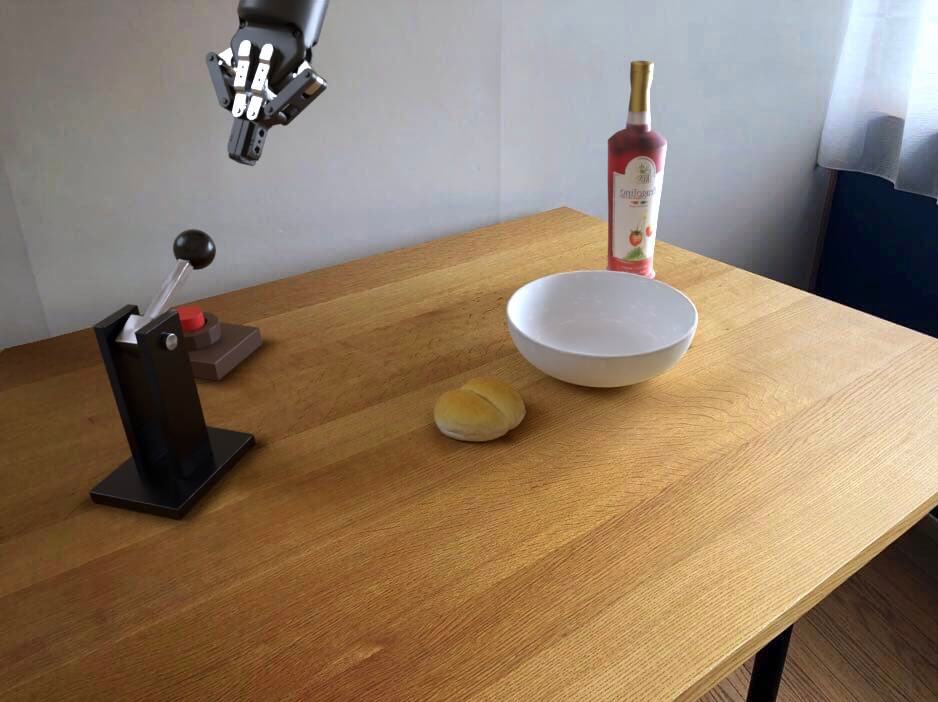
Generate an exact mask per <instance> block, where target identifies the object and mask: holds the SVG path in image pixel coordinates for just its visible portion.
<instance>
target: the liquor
mask: <svg viewBox="0 0 938 702" xmlns="http://www.w3.org/2000/svg"><path fill="white" fill-rule="evenodd" d="M629 70H630V71H629V82H630V94H629V101H628V102H629V103H628V108H627V109H628V110H627V117H626V122H625V123H626V124H625V128H623V129H621V130H617V131H616V132H615V133H613V135H611V136H610V137H609V138H608V139H607V265H606V267H605V268H604V270H603V271H617V272H625V273H631V274H636V275H641V276H645V277H648V278H652V279H655V276H656V272H655V270H654V268H653V265H654V264H653V263H654V252H655V245H656V243H655V242H656V233H657V225H658V216H659V209H660V203H661V196H662V189H663V181H664V171H665V163H666V155H667V147H668V140H667V139H666V138H665V137H664V136H662V135H661V133H660V132H657V131H655V130H653V129H651V98H650V93H651V91H650V90H651V86H652V81H653V75H654V62H653V61H649V60H634V61H633V60H632V61H631V62H630V69H629Z"/></svg>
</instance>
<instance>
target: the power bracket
mask: <svg viewBox="0 0 938 702" xmlns="http://www.w3.org/2000/svg"><path fill="white" fill-rule="evenodd" d="M131 315H138V316H141V312H140V310H139V306H138V305H137V304H130V303H127V304H126V305H124V306H123V307H121V308H119V309H118V310H116V311H115V312H113V313H111V314H109V315H108V316H106V317H104V318H103V319H101V320H100V321H99V322H97V323H95V324H93V325H92V329H93V332H94V335H95V339H96V343H97V345H98V349H99V352H100V355H101V358H102V361H103V364H104V365H103V366H104V368H105V371H106V375H107V378H108V381H109V385H110V388H111V391H112V395H113V398H114V401H115V405H116V408H117V410H118V414H119V417H120V421H121V424H122V428H123V430H124V433H125V436H126V441H127V443H128V447H129V450H130V453H131V456H129V457H128V458H127V459H126V460H125V461H124V462H123V463H121V464H120V465H119V466H117V468H115V469H114V470H113V471H111V472H110V473H109V474H108V475H106V477H104V478H103V479H102V480H101V481H100V482H98V483H97V484H96V485H95V486H94V487H93V488H91V489H90V490H89V491H88V494H89V496H90V499H91V502H92V503H93V504H94V503H95V504H99V505H103V506H109V507H114V508H117V509H118V508H119V509H124V510H128V511H134V512H138V513H144V514H147V515H148V514H149V515H153V516H158V517H162V518H167V519H172V520H178V521H181V520H183V518H184V517H185V516H186V515H188V513H189V512H190V511H191V510H193V508H194V507H195V506H196V505H197V504H198V503H199V502H200V501H201V500H203V498H204V497H205V496H206V495H207V494H208V493H209V492H210V491H211V490H212V489H213V488H214V487H215V486H216V485H217V484H218V483H219V482H221V480H222V479H223V478H224V477H225V476H226V475H227V474H228V473H229V472H230V471H231V470H232V469H233V468H234V467H235V466H236V465H237V464H238V463H239V462H240V461H241V460H242V459H243V458H244V457H245V456H246V455H247V454H248V453H249V452H250V451H251V450H252V448H254V447H255V446H256V445H257V444H256V443H257V441H256V437H255V434H254V433H249V432H243V431H238V430H232V429H226V428H220V427H214V426H209V425H207V423H206V420H205V416H204V410H203V406H202V403H201V399H200V395H199V390H198V387H197V383H196V382H197V381H196V377H194V374H193V370H192V366H191V361H190V357H189V353H188V349H187V345H186V341H185V337H184V333H183V329H182V325H181V321H180V316H179V312H178V311H175V310H174V309H169V310H167V311H165V312H164V313H162V314H161V315H159V316H158V317H157V318H155V319H154V320H152V321H151V322H149V323H148V324H146V325H145V326H143V327H142V328H140V329H139V330H137V331H136V332H134V333H135V337H136V340H137V344H138V347H139V351H140V354H141V358H142V359H139V358H132V357H129V356H128V355H127V354H126V352H125V351H124V350H123V349H122V348H121V347H120V346H119V344H118V343H117V342H116V341H115V340H116V338H117V336H118V335H119V333H120V332H121V330H122V328H123V327H124V325H125V324H126V322H127V320H128V319H129V317H130V316H131Z"/></svg>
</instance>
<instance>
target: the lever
mask: <svg viewBox="0 0 938 702" xmlns="http://www.w3.org/2000/svg"><path fill="white" fill-rule="evenodd" d="M172 253H173V256H174V258H175V260H176V262H175V264H174V265H173V267H172V269H171V270H170V272H169V274H168V275H167V277H166V278H165V281H164V282H163V283H162V285H161V287H160V288H159V290H158V292H157V294H156V295H155V297H154V298H153V300H152V301H151V303H150V304H149V306H148V308H147V310H146V311H145V313H144V314H143V315H140V316H138V315H131V316H130V317H129V319H128V320H127V322H126V324H125V325H124V327H123V328H122V330H121V332H120V333H119V335H118V336H117V338H116V340H115V341H116V342H117V343H118V344H119V346H120V347H121V348H122V349H123V350H124V351H125V352H126V354H127V355H128V356H129V357H132V358H139V359H142V358H141V354H140V351H139V347H138V344H137V340H136V337H135V333H134V332H136V331H137V330H139V329H140V328H142V327H143V326H145V325H146V324H148V323H149V322H151V321H152V320H154V319H155V318H157V317H158V316H159V315H161V314H162V313H164V312H165V311H167V310H170V308H171V306H173V303H174V302H175V300H176V299H177V297H178V295H179V294H180V291H181V290H182V289H183V287H184V285H185V283H186V282H187V280H188V278H189V277H190V275H191V273H192V272H193V271H198V270H203V269H206V268H207V267H209V266H210V265H211V264H212V263H213V261H215V258H216V255H217V248H216V244H215V241H214V240H213V238H212V237H211V236H210V235H209V234H208V233H207V232H206V231H203V230H200V229H195V228H190V229H186V230H183V231H182V232H179V234H178V235H177V236H176V237H175V238H174V240H173V243H172Z"/></svg>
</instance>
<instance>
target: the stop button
mask: <svg viewBox="0 0 938 702" xmlns="http://www.w3.org/2000/svg"><path fill="white" fill-rule="evenodd" d="M173 310H175V311H178V312H179V316H180V321H181V325H182V329H183V332H191V331H195V330H198V329H201V328H202V327H203V326H205V321H204V316H203V312H204V311H203V309H202V308H201V307H199V306H194V305H187V306H180V307H177V308H174V309H173ZM202 311H203V312H202Z"/></svg>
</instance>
